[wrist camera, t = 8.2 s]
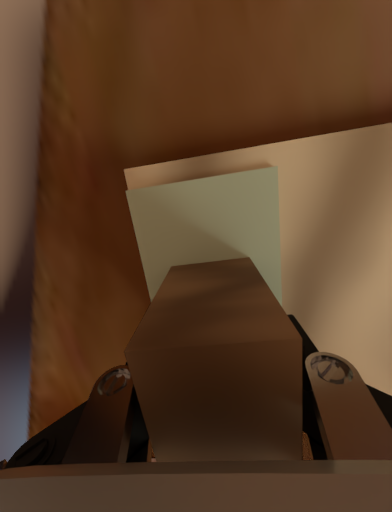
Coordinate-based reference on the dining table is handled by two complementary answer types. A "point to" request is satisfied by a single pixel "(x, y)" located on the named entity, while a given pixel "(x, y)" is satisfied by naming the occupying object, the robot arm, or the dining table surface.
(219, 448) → the stub
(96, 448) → the robot arm
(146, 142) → the dining table surface
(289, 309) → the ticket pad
